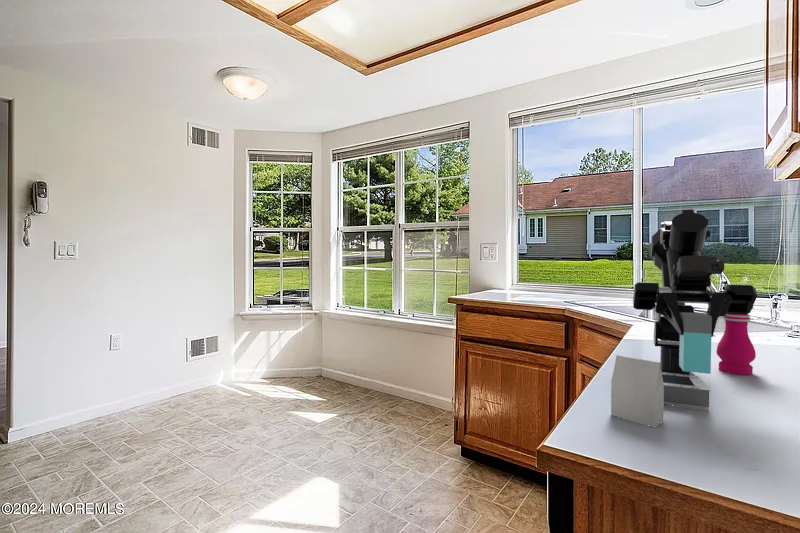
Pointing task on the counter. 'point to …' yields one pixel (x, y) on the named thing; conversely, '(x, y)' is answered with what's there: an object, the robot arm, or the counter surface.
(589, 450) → the counter surface
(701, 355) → the plug
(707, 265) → the robot arm
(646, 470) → the counter surface
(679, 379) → the block
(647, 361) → the tea packet
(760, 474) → the counter surface
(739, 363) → the pepper mill
